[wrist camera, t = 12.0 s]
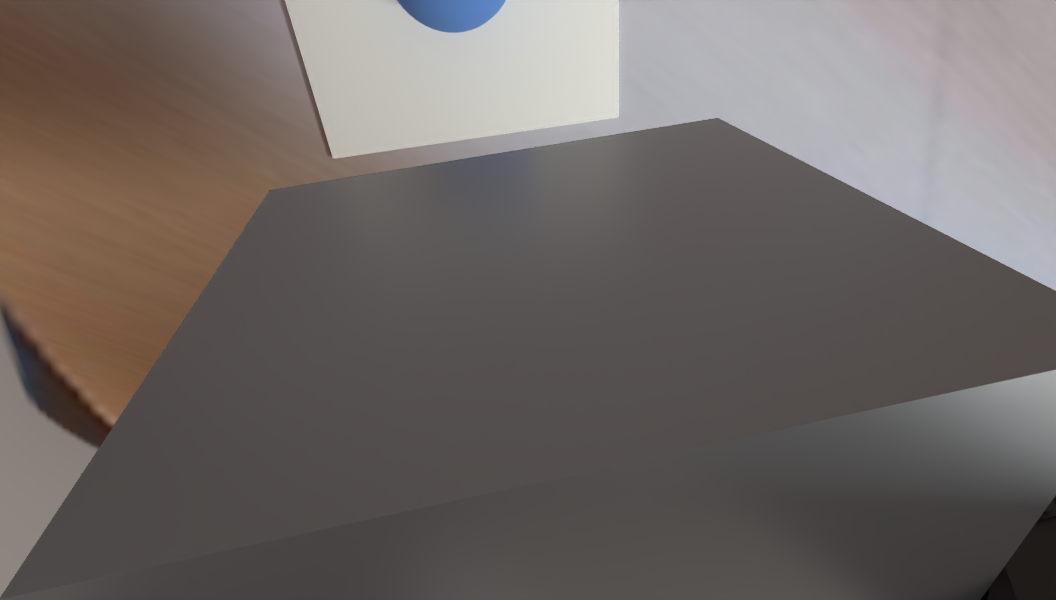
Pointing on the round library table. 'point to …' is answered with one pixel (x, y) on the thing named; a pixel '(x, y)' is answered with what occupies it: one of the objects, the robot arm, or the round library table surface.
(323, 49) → the white flat square plate
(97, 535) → the block
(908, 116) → the round library table surface
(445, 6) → the ball
